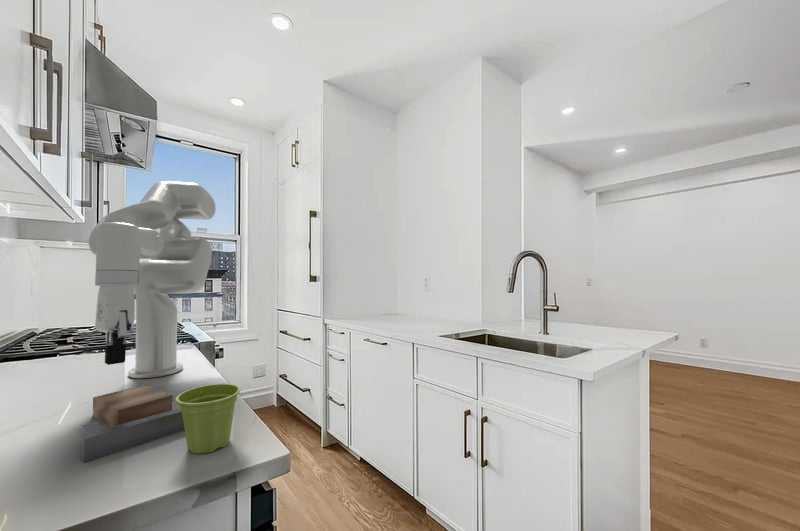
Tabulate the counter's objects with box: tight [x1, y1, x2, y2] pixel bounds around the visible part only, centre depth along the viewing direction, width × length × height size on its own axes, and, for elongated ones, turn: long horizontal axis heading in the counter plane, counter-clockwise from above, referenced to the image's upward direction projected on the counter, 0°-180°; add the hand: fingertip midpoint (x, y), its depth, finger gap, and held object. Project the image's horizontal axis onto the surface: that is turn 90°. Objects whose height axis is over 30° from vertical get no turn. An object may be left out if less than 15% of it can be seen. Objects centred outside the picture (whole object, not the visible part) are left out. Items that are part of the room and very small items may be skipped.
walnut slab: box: [92, 384, 173, 427], centre depth 70 cm, size 12×9×4 cm
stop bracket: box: [80, 407, 185, 463], centre depth 63 cm, size 8×20×4 cm, turn 142°
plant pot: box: [175, 383, 241, 455], centre depth 58 cm, size 9×9×9 cm
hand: (115, 362), depth 76 cm, fingers closed
